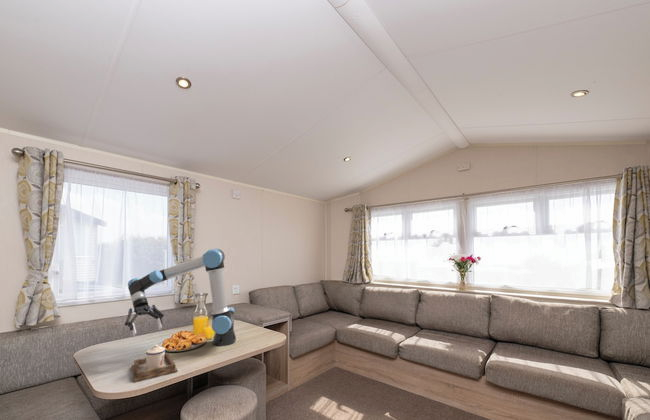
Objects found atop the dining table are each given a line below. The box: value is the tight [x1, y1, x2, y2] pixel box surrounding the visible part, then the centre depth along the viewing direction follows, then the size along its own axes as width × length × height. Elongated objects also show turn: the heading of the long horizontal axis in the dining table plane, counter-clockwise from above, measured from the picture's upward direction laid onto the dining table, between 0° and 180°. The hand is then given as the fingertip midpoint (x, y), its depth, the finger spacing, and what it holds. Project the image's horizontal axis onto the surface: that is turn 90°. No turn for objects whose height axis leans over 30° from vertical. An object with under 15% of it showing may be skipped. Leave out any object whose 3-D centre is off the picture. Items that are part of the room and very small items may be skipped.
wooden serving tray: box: [131, 353, 179, 383], centre depth 158 cm, size 19×22×4 cm
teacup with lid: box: [145, 344, 166, 370], centre depth 159 cm, size 12×9×12 cm
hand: (148, 331), depth 167 cm, fingers open, 13 cm apart
